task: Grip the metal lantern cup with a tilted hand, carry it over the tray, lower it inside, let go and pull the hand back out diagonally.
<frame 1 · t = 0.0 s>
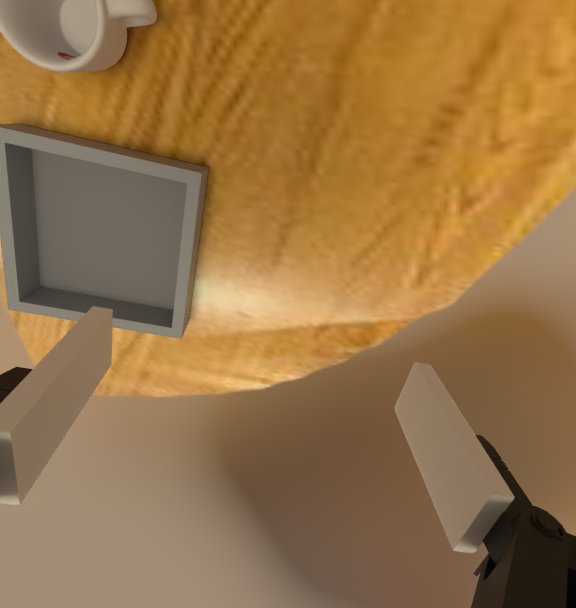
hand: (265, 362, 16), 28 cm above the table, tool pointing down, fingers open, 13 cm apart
cup: (109, 27, 34), on the table
tray: (114, 233, 42), on the table
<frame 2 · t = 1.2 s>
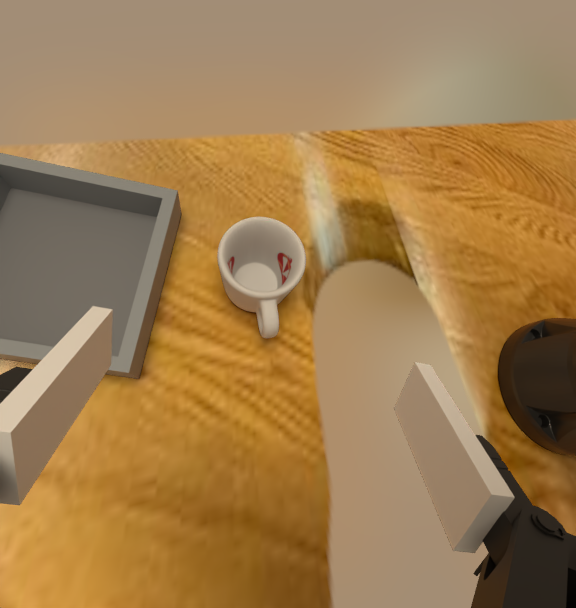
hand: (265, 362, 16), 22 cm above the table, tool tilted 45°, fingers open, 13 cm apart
cup: (256, 298, 41), on the table
tray: (68, 273, 38), on the table
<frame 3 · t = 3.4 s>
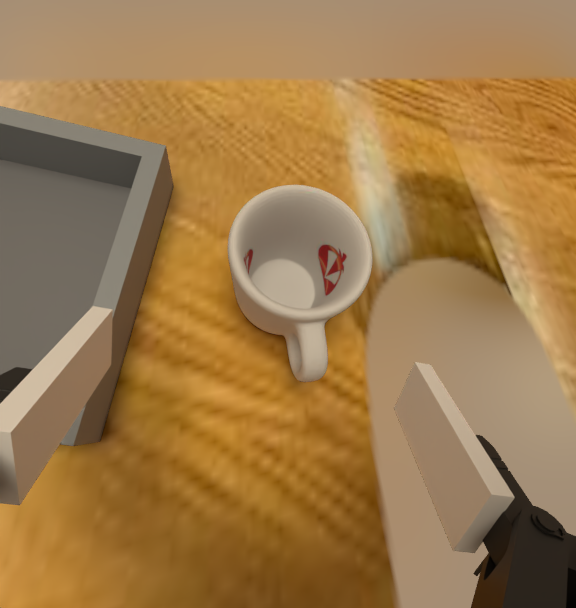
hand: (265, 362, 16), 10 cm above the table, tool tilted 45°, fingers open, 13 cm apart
cup: (282, 313, 27), on the table
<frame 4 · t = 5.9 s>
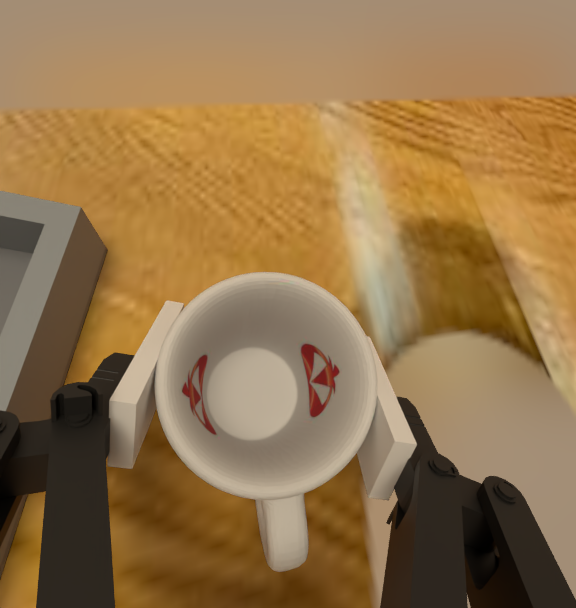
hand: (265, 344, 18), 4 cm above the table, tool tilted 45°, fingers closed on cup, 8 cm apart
cup: (254, 420, 20), on the table, touching gripper
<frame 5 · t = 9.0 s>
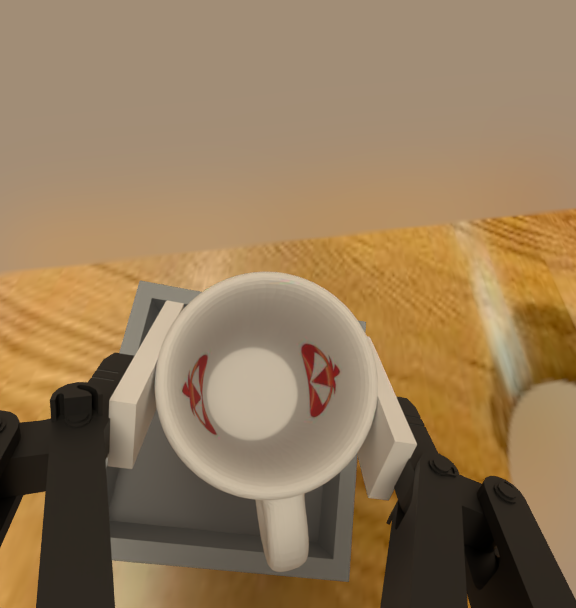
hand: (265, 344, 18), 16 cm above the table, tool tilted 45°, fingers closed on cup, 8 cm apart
cup: (254, 420, 20), point 12 cm above the table, touching gripper
tray: (234, 421, 31), on the table
when the fingers open (6 cm above the table, at t = 12.2 s): cup drops 1 cm, resting on tray.
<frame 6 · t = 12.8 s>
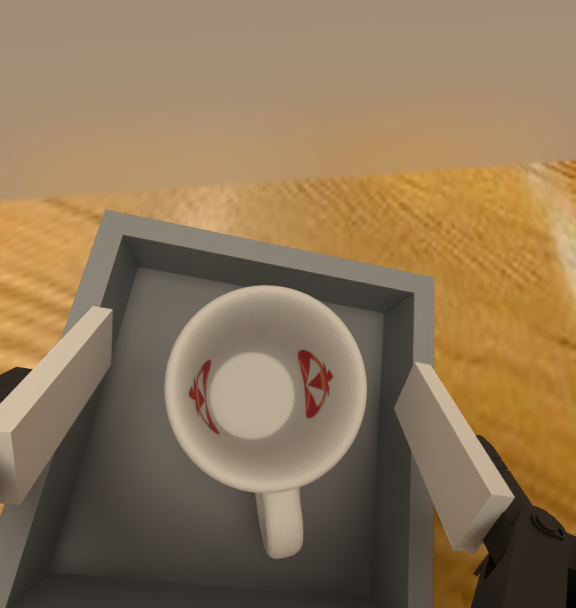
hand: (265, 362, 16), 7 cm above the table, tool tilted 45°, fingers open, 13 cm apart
cup: (253, 420, 22), resting on tray
tray: (244, 420, 22), on the table
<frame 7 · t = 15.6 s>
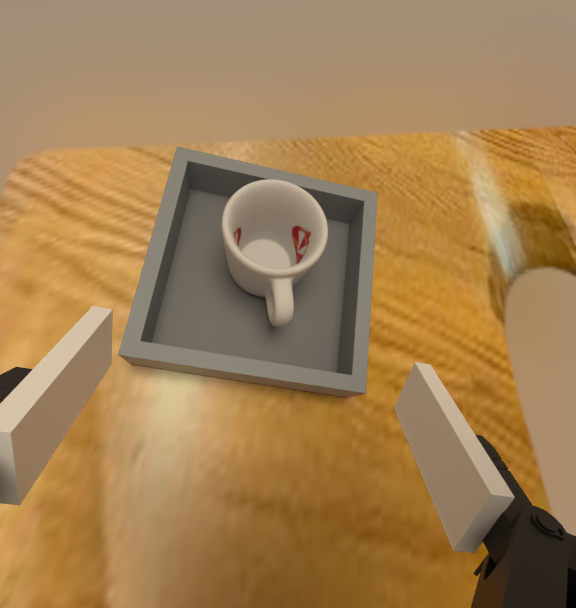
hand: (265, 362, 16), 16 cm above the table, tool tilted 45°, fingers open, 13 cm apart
cup: (265, 282, 35), resting on tray
tray: (259, 282, 35), on the table
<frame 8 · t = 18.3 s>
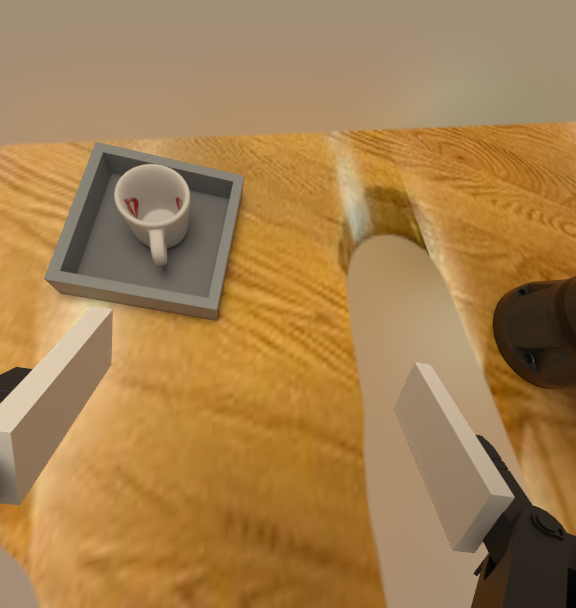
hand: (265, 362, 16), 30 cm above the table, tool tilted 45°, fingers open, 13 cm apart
cup: (162, 239, 48), resting on tray
tray: (159, 240, 49), on the table
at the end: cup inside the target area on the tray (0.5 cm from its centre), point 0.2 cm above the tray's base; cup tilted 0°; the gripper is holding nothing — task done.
